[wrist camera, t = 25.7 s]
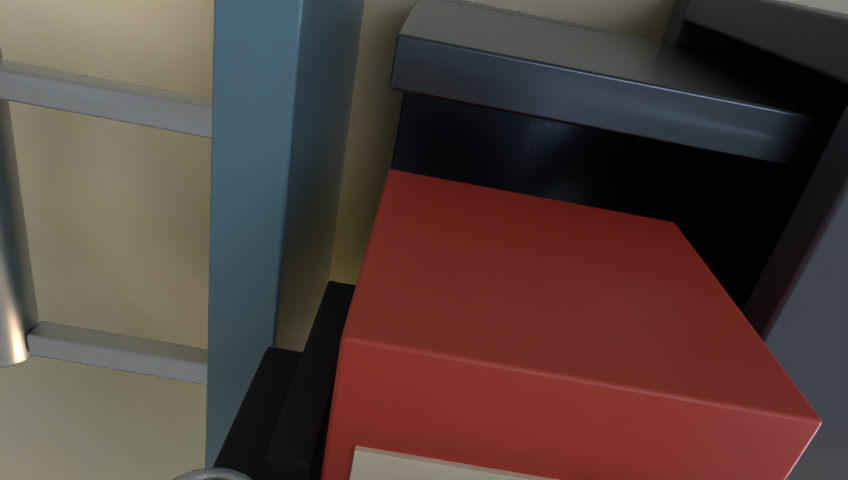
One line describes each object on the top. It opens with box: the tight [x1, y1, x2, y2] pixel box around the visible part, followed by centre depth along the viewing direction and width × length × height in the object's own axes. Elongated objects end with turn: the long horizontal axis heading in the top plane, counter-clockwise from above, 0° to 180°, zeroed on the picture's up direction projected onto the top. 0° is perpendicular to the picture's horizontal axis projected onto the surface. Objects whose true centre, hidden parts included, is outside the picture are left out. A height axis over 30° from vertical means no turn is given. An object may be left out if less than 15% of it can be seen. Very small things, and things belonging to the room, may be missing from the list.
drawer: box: [0, 0, 848, 468], centre depth 14 cm, size 21×12×7 cm, turn 80°
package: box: [321, 170, 822, 480], centre depth 9 cm, size 5×7×4 cm, turn 170°
